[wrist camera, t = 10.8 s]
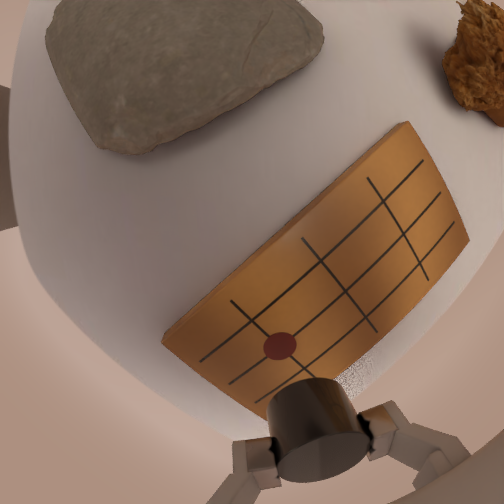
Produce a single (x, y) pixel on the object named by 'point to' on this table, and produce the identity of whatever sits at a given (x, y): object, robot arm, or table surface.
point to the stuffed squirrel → (478, 60)
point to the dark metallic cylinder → (315, 431)
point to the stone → (172, 62)
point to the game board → (327, 278)
